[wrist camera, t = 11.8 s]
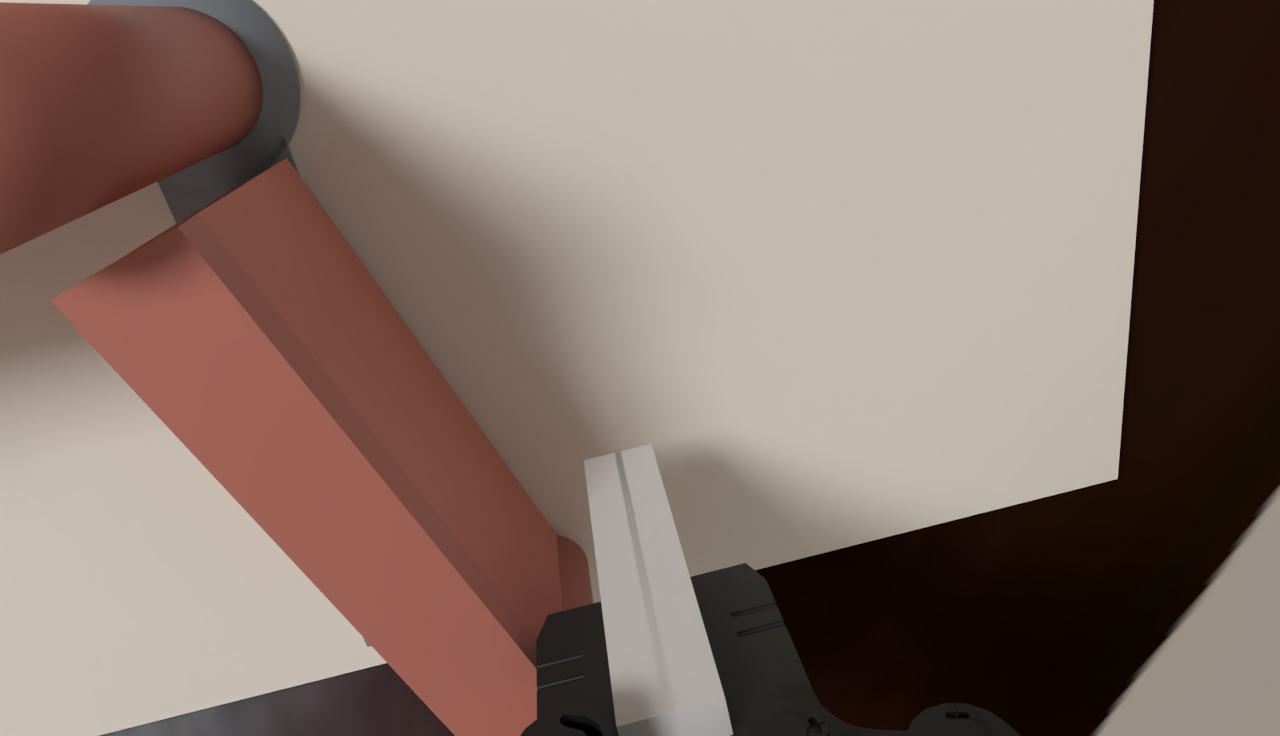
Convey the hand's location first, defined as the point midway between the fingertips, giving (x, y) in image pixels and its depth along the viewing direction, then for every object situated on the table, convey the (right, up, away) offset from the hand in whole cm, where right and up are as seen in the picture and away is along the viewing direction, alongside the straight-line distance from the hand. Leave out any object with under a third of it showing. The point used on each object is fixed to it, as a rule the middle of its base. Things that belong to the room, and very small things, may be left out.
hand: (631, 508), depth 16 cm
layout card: (-5, +4, 0) cm, 6 cm away
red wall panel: (-4, +2, +1) cm, 5 cm away
